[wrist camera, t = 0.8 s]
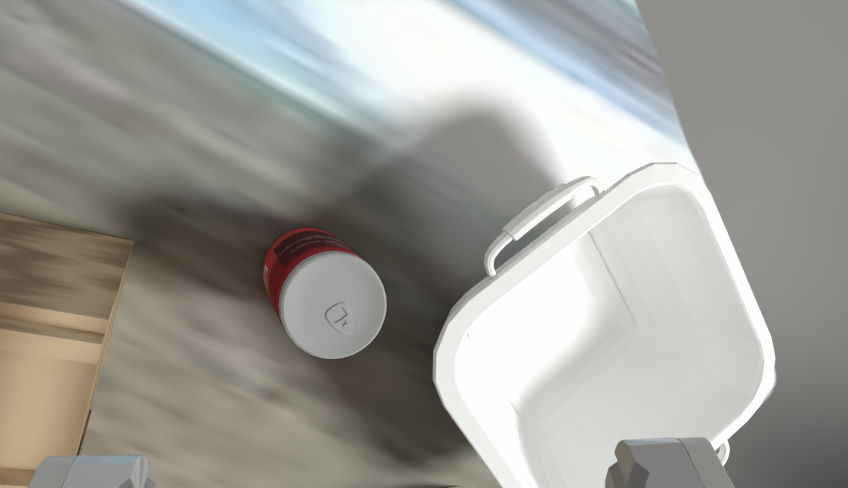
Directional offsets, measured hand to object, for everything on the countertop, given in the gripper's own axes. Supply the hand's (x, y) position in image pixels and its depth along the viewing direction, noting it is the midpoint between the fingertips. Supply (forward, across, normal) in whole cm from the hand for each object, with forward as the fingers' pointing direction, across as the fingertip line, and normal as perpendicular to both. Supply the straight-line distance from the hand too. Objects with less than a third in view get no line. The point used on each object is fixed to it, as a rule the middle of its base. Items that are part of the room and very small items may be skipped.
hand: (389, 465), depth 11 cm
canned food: (+38, +6, +25) cm, 46 cm away
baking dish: (+40, -18, +34) cm, 56 cm away
